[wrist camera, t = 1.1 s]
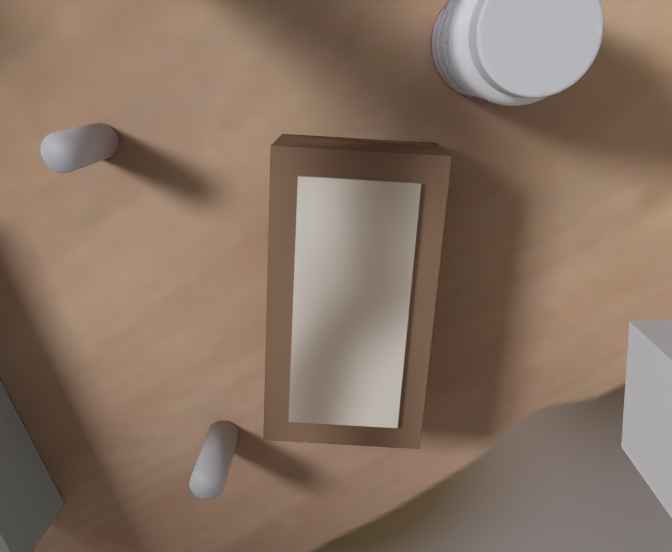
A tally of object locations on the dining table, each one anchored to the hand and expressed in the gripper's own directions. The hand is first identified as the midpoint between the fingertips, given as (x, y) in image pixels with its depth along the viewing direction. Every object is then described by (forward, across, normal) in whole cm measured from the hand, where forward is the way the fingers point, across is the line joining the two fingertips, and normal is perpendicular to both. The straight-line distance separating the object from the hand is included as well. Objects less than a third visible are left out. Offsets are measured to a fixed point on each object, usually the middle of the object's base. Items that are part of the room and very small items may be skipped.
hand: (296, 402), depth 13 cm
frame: (+19, +1, -3) cm, 19 cm away
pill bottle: (+19, +7, +7) cm, 21 cm away
